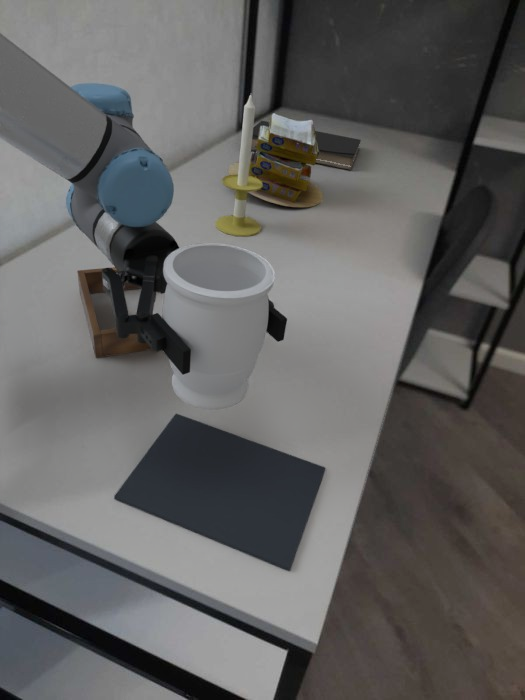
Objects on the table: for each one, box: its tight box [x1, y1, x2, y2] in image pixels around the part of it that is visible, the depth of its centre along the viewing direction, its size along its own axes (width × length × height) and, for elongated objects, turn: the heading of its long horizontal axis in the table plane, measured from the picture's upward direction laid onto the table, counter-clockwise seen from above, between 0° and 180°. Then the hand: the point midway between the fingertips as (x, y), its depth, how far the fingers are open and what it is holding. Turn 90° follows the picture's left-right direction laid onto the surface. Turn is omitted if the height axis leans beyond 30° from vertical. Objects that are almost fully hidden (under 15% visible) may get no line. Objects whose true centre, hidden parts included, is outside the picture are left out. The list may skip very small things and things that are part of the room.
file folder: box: [251, 120, 362, 171], centre depth 162 cm, size 33×4×24 cm
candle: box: [215, 94, 263, 238], centre depth 105 cm, size 10×10×27 cm
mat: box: [113, 413, 326, 572], centre depth 59 cm, size 20×14×1 cm
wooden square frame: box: [76, 266, 152, 358], centre depth 82 cm, size 17×18×4 cm
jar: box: [161, 242, 276, 411], centre depth 53 cm, size 11×10×15 cm
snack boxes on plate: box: [227, 112, 324, 208], centre depth 128 cm, size 25×25×17 cm
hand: (237, 345), depth 50 cm, fingers closed on jar, 10 cm apart
